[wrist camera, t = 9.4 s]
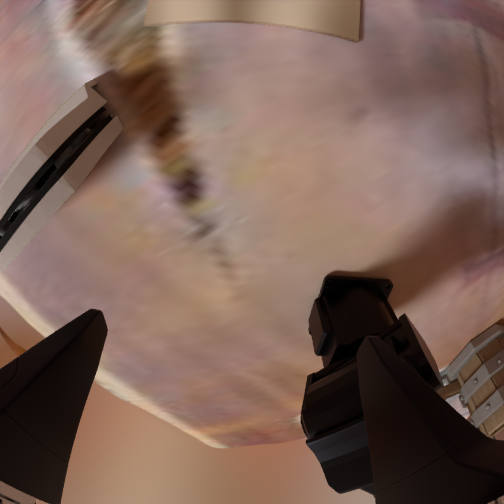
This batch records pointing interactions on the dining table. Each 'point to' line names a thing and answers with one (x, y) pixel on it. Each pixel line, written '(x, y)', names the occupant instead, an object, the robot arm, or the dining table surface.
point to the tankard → (480, 380)
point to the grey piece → (65, 176)
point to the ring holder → (262, 14)
